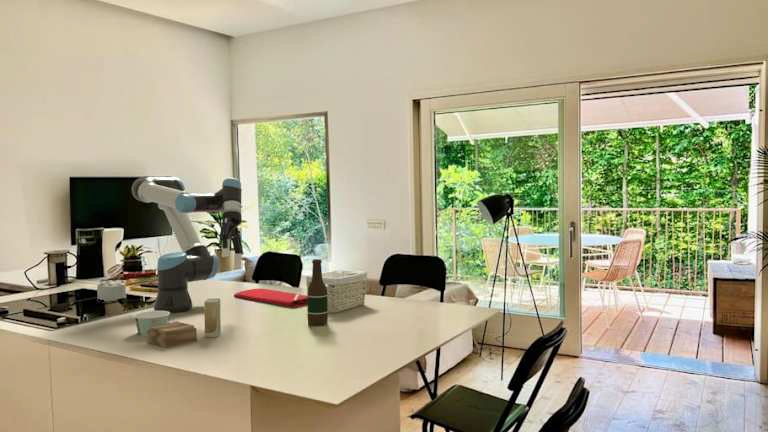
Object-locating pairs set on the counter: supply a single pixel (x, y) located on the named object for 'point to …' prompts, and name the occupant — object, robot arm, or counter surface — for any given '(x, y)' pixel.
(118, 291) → the lumpy-topped squat cylinder
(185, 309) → the robot arm
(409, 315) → the counter surface
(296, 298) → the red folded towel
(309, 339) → the counter surface
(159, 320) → the food container
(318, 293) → the beer bottle
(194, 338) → the walnut base
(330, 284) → the storage basket
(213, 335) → the skincare box
